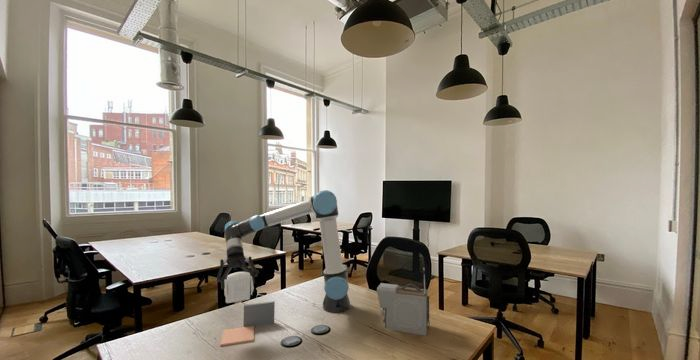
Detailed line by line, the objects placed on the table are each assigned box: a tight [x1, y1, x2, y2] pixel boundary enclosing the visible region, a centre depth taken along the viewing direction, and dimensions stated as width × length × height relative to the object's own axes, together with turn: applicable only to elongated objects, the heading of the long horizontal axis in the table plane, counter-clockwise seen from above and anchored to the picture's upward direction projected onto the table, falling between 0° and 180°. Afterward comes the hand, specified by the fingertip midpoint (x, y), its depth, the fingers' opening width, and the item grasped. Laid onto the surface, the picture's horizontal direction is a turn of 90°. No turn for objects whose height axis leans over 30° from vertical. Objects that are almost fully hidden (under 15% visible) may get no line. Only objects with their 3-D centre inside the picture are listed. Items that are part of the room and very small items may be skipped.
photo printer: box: [225, 271, 251, 304], centre depth 127 cm, size 10×4×12 cm, turn 123°
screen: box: [242, 300, 275, 327], centre depth 137 cm, size 14×2×10 cm, turn 108°
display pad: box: [219, 326, 255, 347], centre depth 126 cm, size 13×13×1 cm
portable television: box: [376, 267, 431, 336], centre depth 136 cm, size 12×24×30 cm, turn 70°
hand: (239, 292), depth 124 cm, fingers closed on photo printer, 10 cm apart
